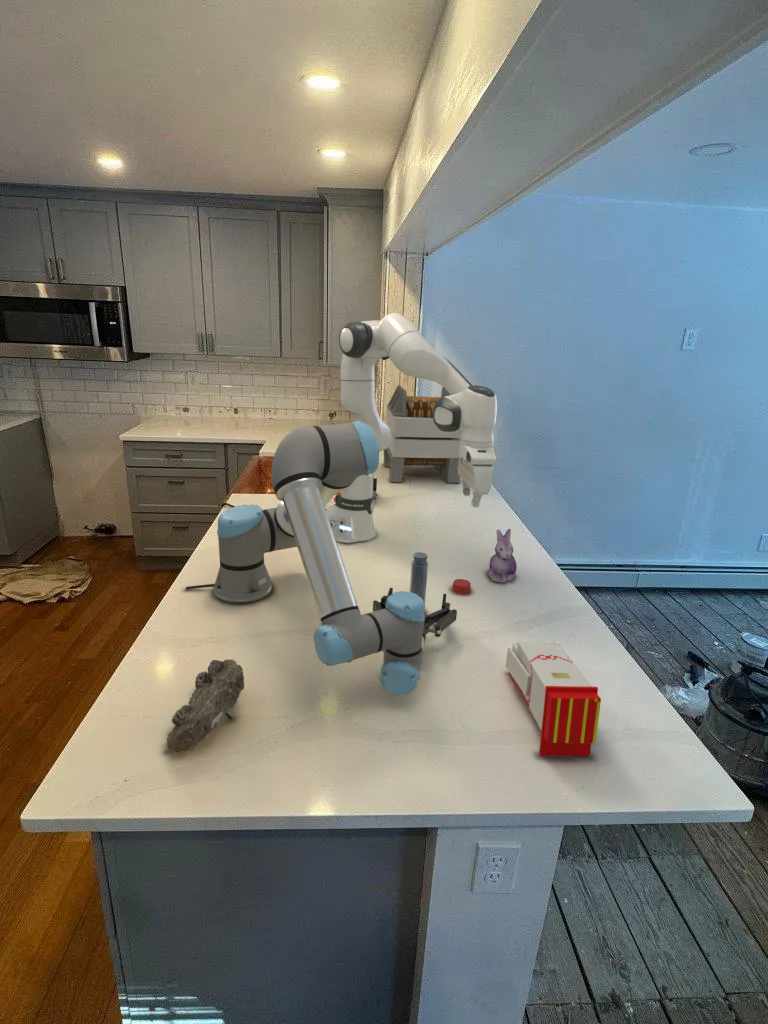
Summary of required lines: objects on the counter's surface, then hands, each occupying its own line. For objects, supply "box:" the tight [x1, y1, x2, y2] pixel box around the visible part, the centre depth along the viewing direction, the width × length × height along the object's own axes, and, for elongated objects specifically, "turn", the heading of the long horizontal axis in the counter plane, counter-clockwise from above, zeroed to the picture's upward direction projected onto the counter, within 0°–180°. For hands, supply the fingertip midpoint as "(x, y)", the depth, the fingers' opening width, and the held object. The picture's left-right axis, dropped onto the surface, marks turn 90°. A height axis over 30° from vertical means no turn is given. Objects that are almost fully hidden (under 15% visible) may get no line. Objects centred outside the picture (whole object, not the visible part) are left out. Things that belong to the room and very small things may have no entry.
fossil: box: [166, 658, 245, 754], centre depth 106 cm, size 22×10×15 cm
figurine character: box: [373, 477, 378, 500], centre depth 233 cm, size 7×8×15 cm
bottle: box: [409, 551, 429, 610], centre depth 146 cm, size 4×4×16 cm
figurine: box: [488, 528, 518, 583], centre depth 168 cm, size 9×10×15 cm
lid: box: [451, 578, 472, 595], centre depth 161 cm, size 5×5×2 cm
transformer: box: [383, 384, 461, 484], centre depth 268 cm, size 34×33×41 cm
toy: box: [505, 641, 602, 757], centre depth 113 cm, size 12×13×30 cm
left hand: (417, 595), depth 144 cm, fingers open, 13 cm apart
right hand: (470, 500), depth 152 cm, fingers open, 8 cm apart
